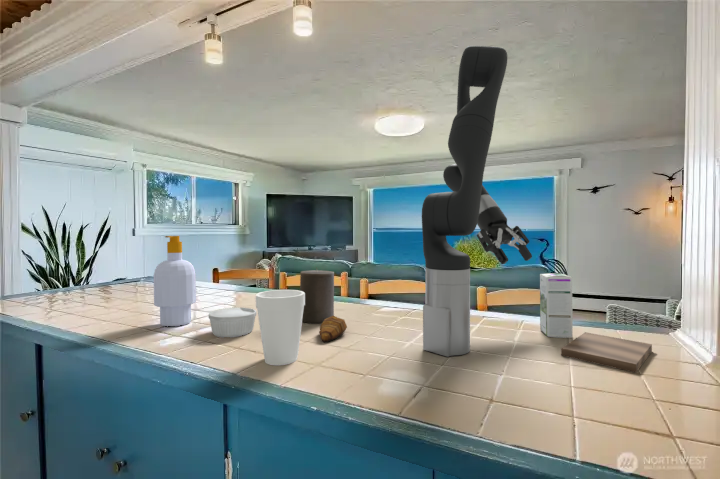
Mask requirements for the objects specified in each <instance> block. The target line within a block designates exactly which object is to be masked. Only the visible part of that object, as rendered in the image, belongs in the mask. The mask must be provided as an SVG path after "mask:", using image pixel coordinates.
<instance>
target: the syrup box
mask: <svg viewBox="0 0 720 479" xmlns="http://www.w3.org/2000/svg"><path fill="white" fill-rule="evenodd" d="M539 300H540V301H539V302H540V303H539V313H540V314H539V315H540V316H539V318H540V319H539V321H540V323H539V325H540V331H541V332H542V333H543V334H544V335H545V336H546V337H549V338H550V337H551V338H558V339H559V338H561V339H563V338H564V339H565V338H566V339H573V321H574V320H573V277H572V276H570V275H567V274H564V273H553V272H552V273H540V274H539Z"/></svg>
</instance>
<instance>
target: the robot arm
mask: <svg viewBox="0 0 720 479" xmlns="http://www.w3.org/2000/svg"><path fill="white" fill-rule="evenodd" d="M507 66H508V52H507V50H506V49H505V48H504V47H499V46H489V45H487V46H486V45H485V46H484V45H468V46H467V47H465V48H464V50H463V53H462V55H461V58H460V62H459V70H458V76H457V77H458V78H457V80H458V82H457V97H456V101H457V102H456V114H455V116H454V118H453V120H452V124H451V126H450V130H449V135H448V141H447V145H448V146H447V147H448V151H449V153H450V155H451V157H452V159H453V161H454V162H455V163H454V164H450V165H448V166H446V167H445V169H444V170H443V174H442V175H443V176H442V177H443V180H444V182H445V185H446V186H447V187H448V188H449V189H450V190H451V191H445V192H435V193H434V192H432V193H429V194H427V195H426V197H425V198H424V200H423V203H422V208H421V228H422V230H421V231H422V232H421V233H422V252H423V256H424V261H425V262H424V263H425V265H424V266H425V285H424V286H425V289H424V290H425V296H424V297H425V298H424V299H425V300H424V301H425V304H424V305H423V306H422V350H424V351H427V352H430V353H433V354H437V355H440V356H444V357H451V356H461V355H466V354H468V353H469V352H471V258H470V255H468V253H465V252H463V251H461V250H458V249H456V248H454V247H453V246H452V245H451V244H450V243H448V240H447V237H448V236H449V237H458V236H459V237H465V236H469V235H472V234H473V233H474V231H475V230H476V228H477V226H478V228H479V231H478V233H476V237H477V239H478V241H479V242H480V244H481V247H482V248H483V250H484V252H486V253H489V252H490V253H492V254H493V255H494V257H495V258H496V260H497V261H498V262H499V263H500V264H501V265H505V264H507V263H508V261H509V257H508V255H506V253H505V252H504V250H503V249H502V247H501V246H502V245H508V246H510V247H513V248H516V249H517V250H518V252H519V254H520V256H521V257H522V258H523V259H524V261H526V262H527V261H530V259H532V258H533V254H532V253H531V252H530V250H529V248H528V247H527V245H528V244H529V243H530V240H529V238H528V237H527V236H526V234H525V233H524V232H523V230H522V229H521V228H520V227H519V226H518V225H515V226H514V227H510V226H509V225H508V217H506V215H505V214H504V212H503V211H502V208H500V206H499V205H498V203H497V202H496V200H495V199H493V198H492V196H491V195H490V193H489V192H488V191H487V189H486V187H485V186H484V185H483V179H484V172H485V168H486V163H487V158H488V153H489V148H490V145H491V141H492V136H493V135H492V134H493V129H494V125H495V124H494V123H495V118H496V111H497V105H498V100H499V97H500V93H501V89H502V87H503V86H502V85H503V82H504V78H505V74H506V70H507ZM471 87H472V88H474V87H475V88H483V89H482V91H481V92H480V93H479V94H478V95H476V96H474V98H472V99H471V95H470V94H471V92H470V91H471V90H470V89H471ZM513 238H514V239H513Z"/></svg>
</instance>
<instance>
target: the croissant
mask: <svg viewBox="0 0 720 479" xmlns="http://www.w3.org/2000/svg"><path fill="white" fill-rule="evenodd" d="M347 329H348V326H347V323H346V321H345V319H343V318H340V317H337V316H336V315H334V316H331V317H329V318H327V319H325V320H324V321H323V323H320V326H319V332H318V333H319V337H320V339H321V342H323V343H327V342H332V341H334V340H336V339H337V338H340V337H342V336H343V334H344V332H345V331H346V330H347Z"/></svg>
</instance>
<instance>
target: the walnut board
mask: <svg viewBox="0 0 720 479" xmlns="http://www.w3.org/2000/svg"><path fill="white" fill-rule="evenodd" d="M560 349H561V350H560V352H561V353H560V355H561V357H566V358H567V357H568V358H570V359H574V360H579V361H583V362H588V363H593V364H597V365H601V366H606V367H610V368H615V369H618V370H619V369H620V370H623V371H628V372H632V373H636V374H637V372H638V371H639V369H640V368H641V367H642V365H643V364H644V363H645V361H646V360H647V359H648V358H649V356H650V354H652V351H653V344H652V343H646V342H642V341H637V340H631V339H624V338H621V337H620V338H619V337H614V336H609V335H603V334H602V335H601V334H596V333H591V332H585V331H584V332H583V333H582V334H580V335H579V336H577V337H576V338H574V339H573V340H571V341H570V342H568V343H566V344H565V345H564V346H562V347H561V348H560Z"/></svg>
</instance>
